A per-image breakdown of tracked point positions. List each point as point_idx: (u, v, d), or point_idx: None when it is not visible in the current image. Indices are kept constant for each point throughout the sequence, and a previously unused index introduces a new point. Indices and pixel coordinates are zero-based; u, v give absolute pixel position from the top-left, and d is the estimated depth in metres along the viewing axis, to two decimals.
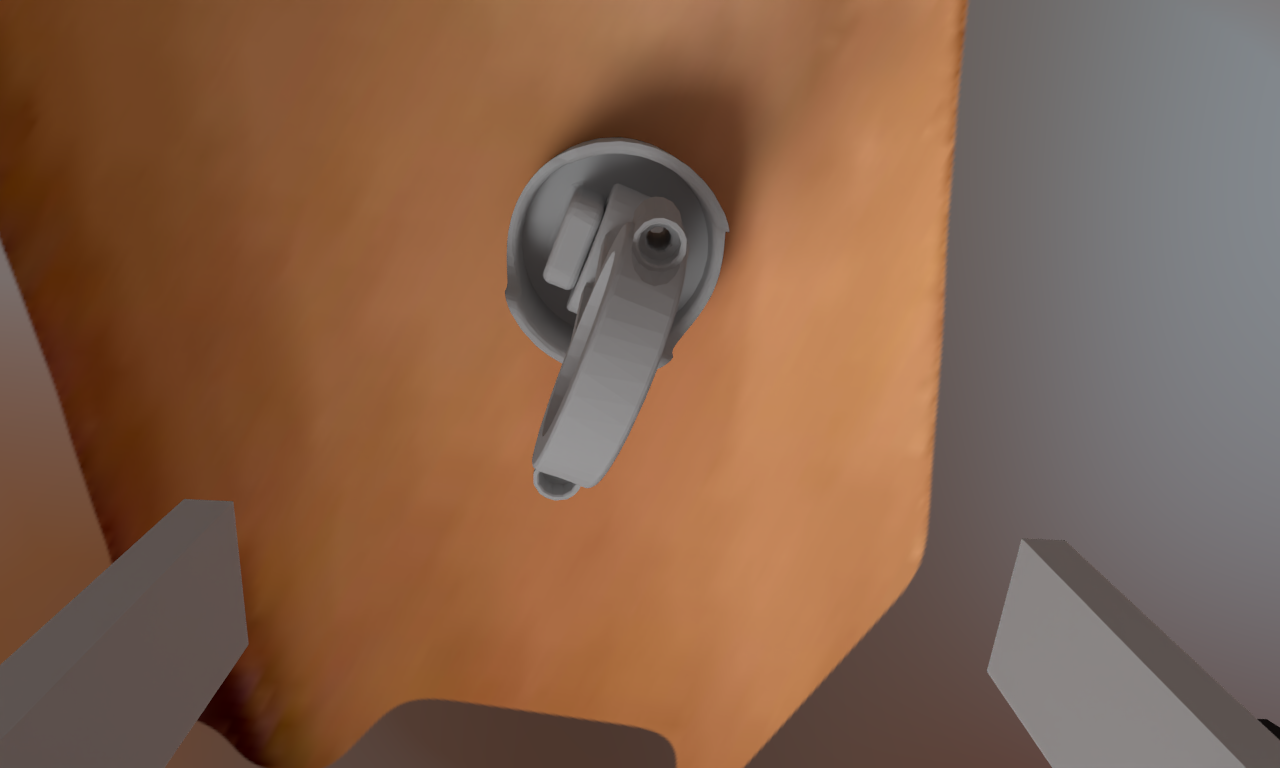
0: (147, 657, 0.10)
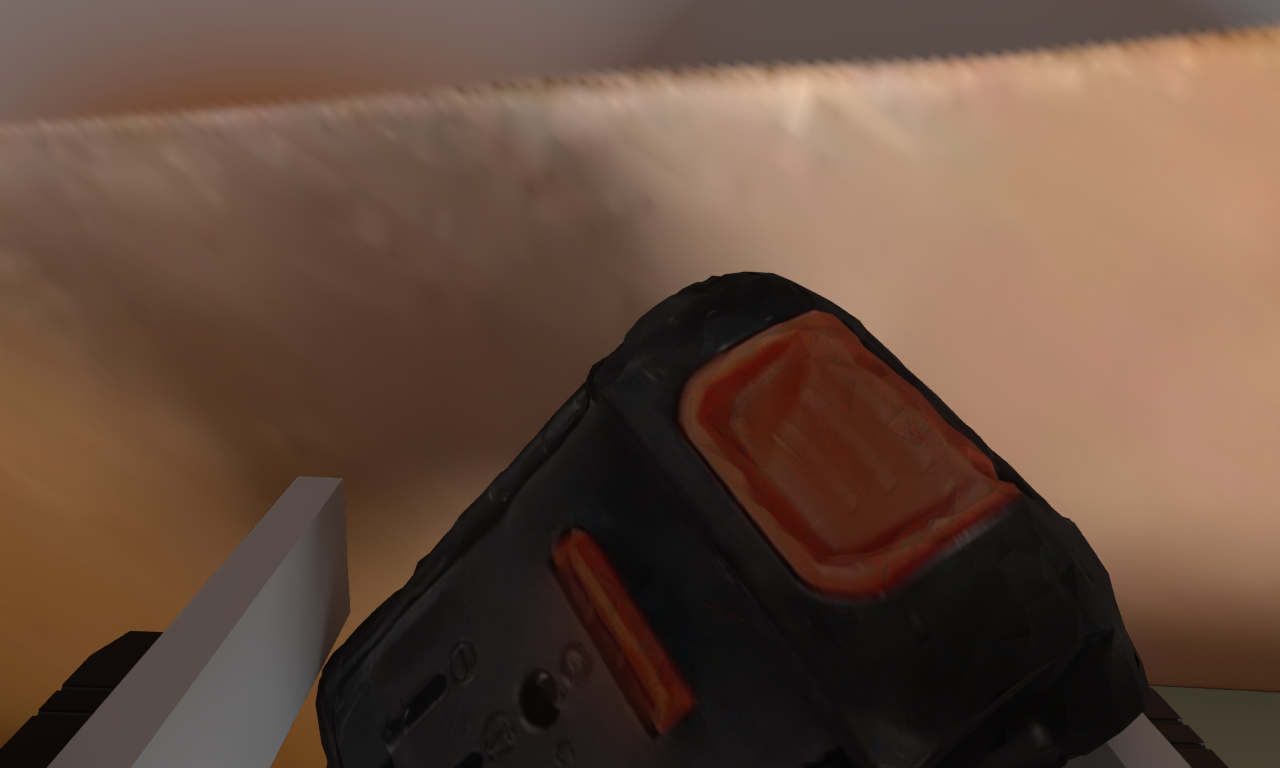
0: (286, 615, 0.11)
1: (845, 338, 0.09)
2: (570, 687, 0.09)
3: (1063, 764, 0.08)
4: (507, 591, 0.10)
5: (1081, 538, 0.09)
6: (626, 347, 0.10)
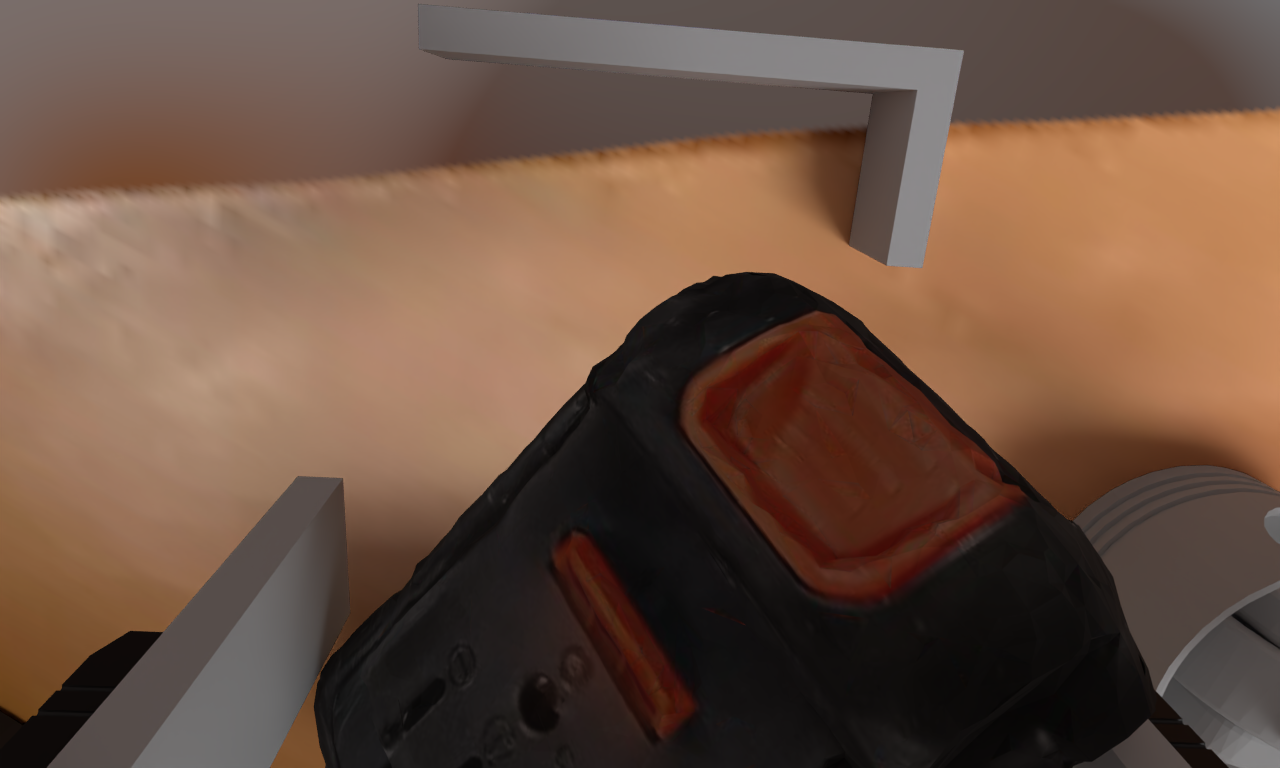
0: (287, 615, 0.11)
1: (848, 339, 0.09)
2: (569, 691, 0.09)
3: None
4: (507, 594, 0.09)
5: (1086, 541, 0.09)
6: (626, 348, 0.10)
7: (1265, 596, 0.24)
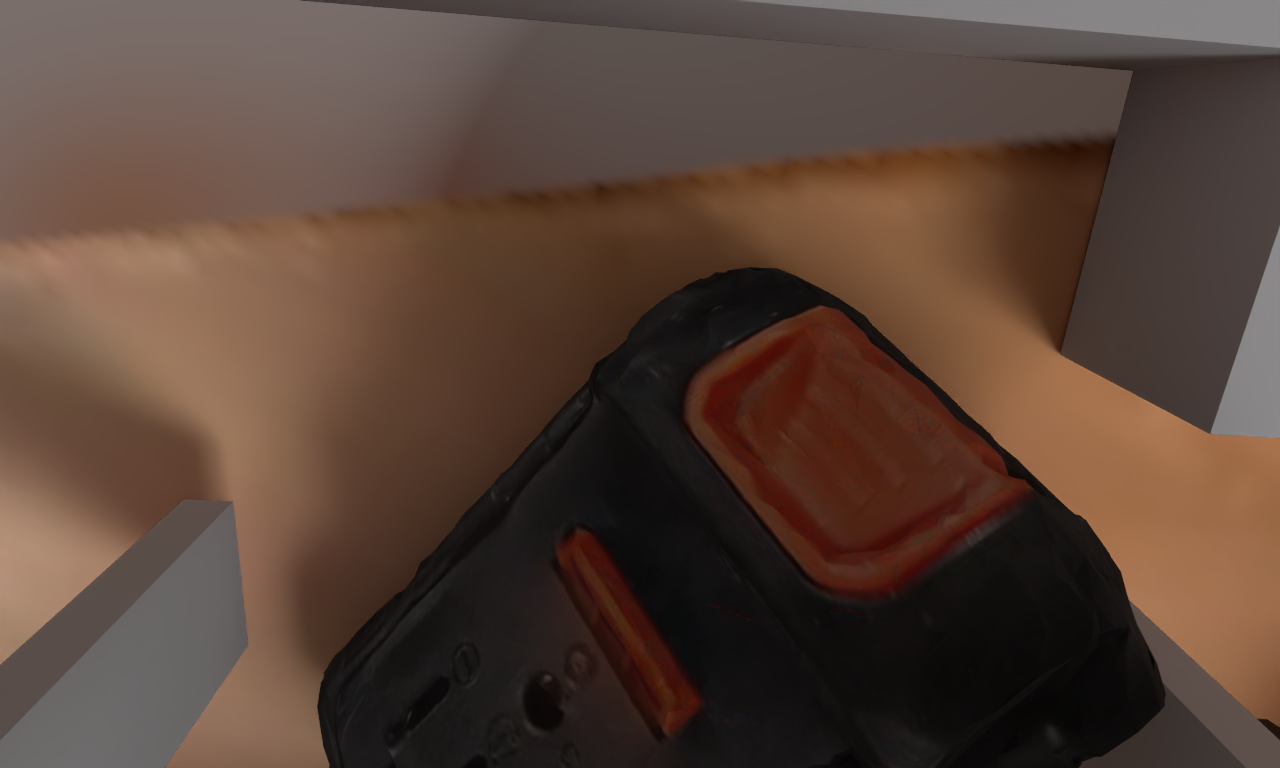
0: (147, 657, 0.10)
1: (852, 334, 0.09)
2: (574, 689, 0.09)
3: (1078, 766, 0.08)
4: (510, 592, 0.09)
5: (1093, 536, 0.09)
6: (630, 344, 0.10)
7: None
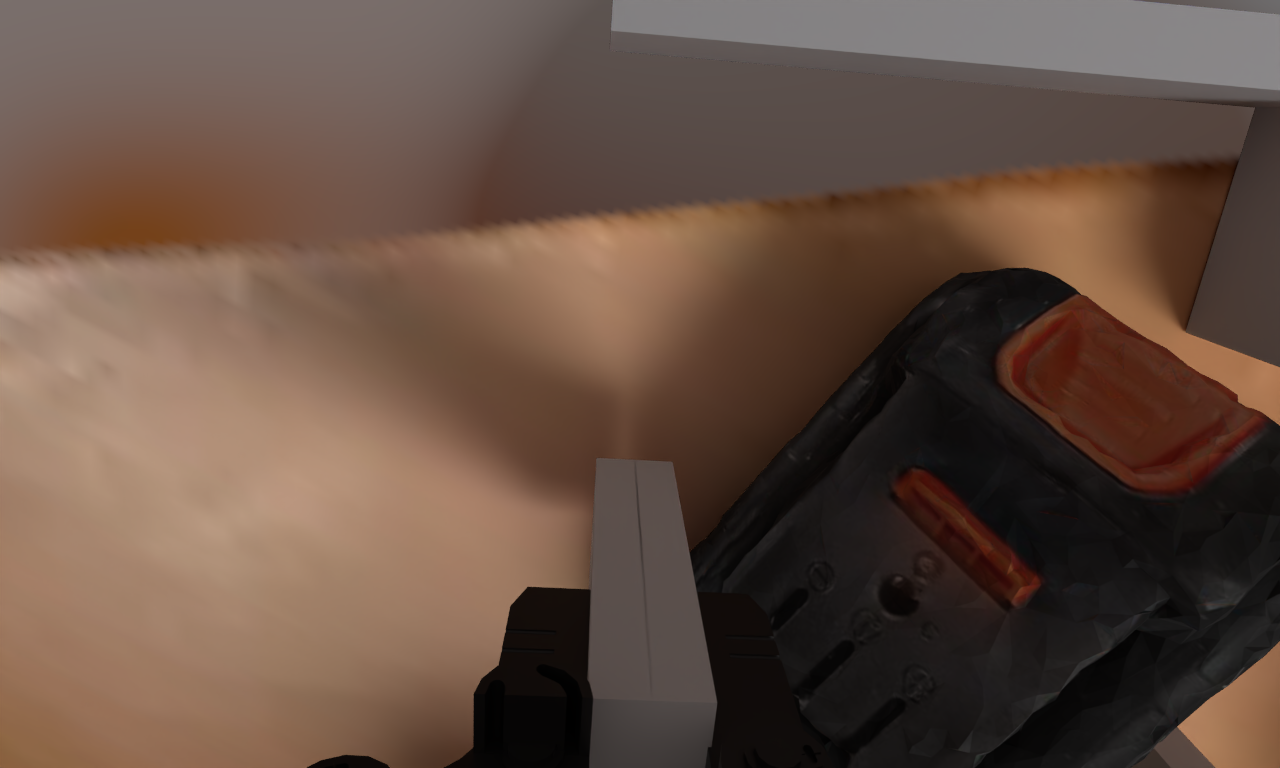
0: None
1: (1104, 314, 0.12)
2: (925, 584, 0.12)
3: None
4: (854, 520, 0.13)
5: None
6: (931, 331, 0.13)
7: None
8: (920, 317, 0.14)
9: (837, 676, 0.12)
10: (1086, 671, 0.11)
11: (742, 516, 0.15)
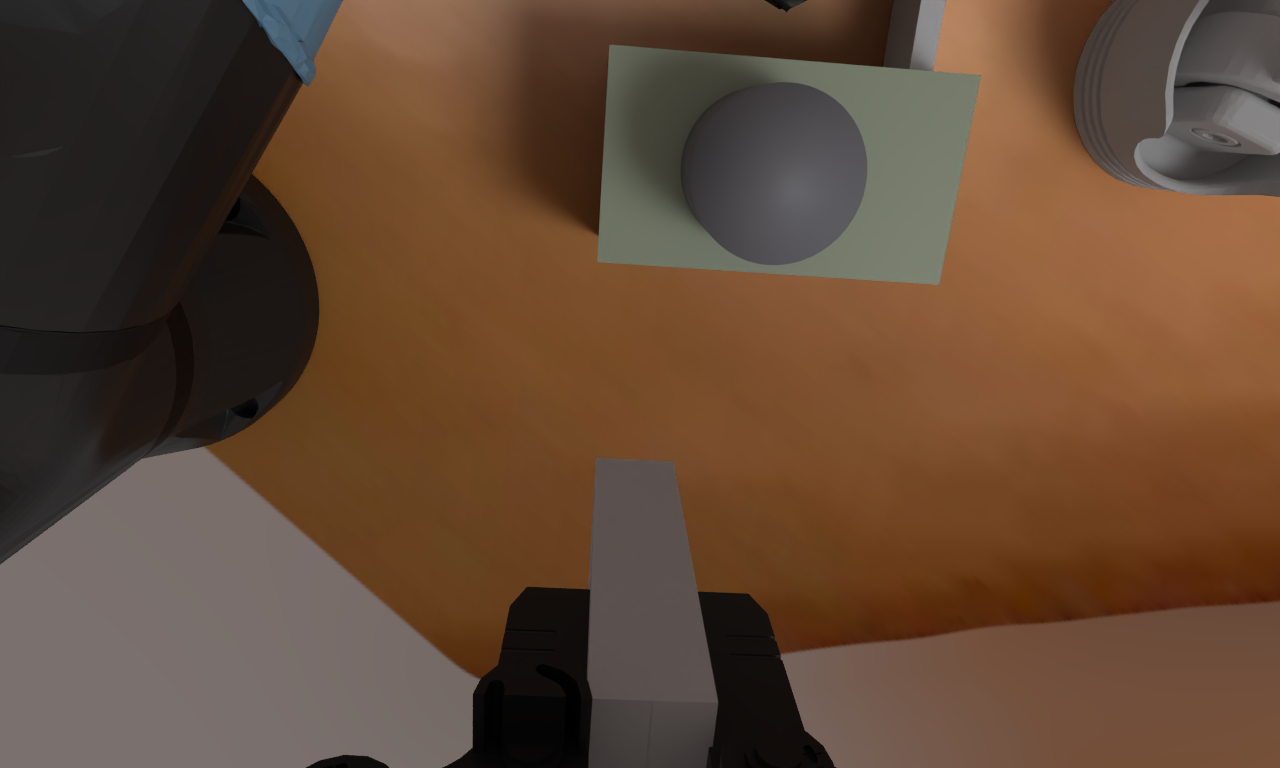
0: None
1: None
2: None
3: None
4: None
5: None
6: None
7: None
8: None
9: None
10: None
11: None
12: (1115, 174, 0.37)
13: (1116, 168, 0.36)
